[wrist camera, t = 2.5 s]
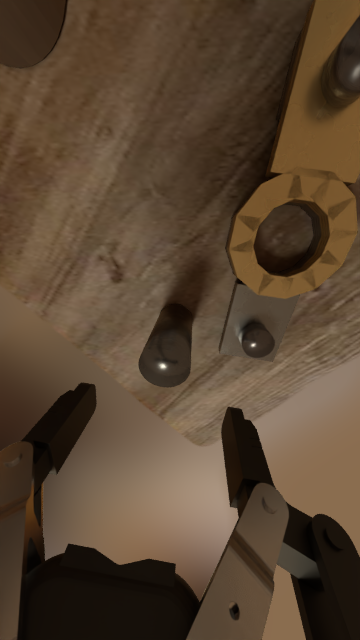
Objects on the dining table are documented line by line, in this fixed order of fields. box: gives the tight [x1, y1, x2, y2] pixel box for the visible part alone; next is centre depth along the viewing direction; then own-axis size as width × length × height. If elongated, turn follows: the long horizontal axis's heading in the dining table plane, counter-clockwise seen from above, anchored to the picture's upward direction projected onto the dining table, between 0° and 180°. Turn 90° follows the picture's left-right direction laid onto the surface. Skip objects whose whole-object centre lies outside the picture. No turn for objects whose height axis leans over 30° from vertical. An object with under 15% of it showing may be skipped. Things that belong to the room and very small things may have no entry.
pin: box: [139, 304, 192, 387], centre depth 19 cm, size 4×4×9 cm
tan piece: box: [219, 0, 360, 362], centre depth 16 cm, size 10×26×4 cm, turn 173°
